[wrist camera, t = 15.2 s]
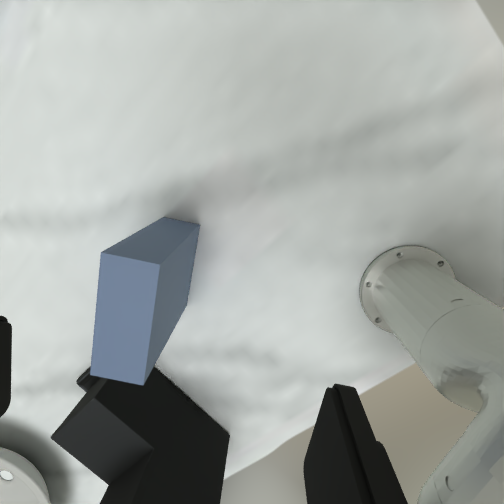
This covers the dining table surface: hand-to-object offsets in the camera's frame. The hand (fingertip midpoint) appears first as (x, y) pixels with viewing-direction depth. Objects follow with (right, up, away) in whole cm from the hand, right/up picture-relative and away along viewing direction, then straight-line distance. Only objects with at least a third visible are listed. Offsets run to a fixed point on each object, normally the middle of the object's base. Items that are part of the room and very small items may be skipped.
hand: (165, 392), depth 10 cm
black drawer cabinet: (-13, -20, +44) cm, 50 cm away
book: (-8, +3, +37) cm, 38 cm away
